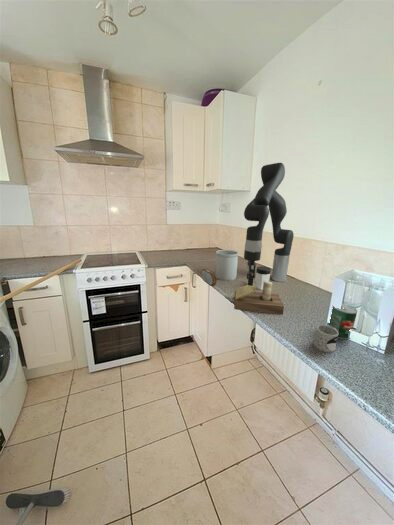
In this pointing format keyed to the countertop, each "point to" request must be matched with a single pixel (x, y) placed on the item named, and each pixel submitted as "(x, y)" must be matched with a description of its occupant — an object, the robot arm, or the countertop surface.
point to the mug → (325, 338)
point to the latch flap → (245, 291)
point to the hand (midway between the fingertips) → (249, 282)
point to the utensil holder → (226, 264)
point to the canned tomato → (342, 321)
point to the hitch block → (259, 303)
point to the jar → (262, 276)
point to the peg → (266, 291)
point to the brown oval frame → (209, 277)
